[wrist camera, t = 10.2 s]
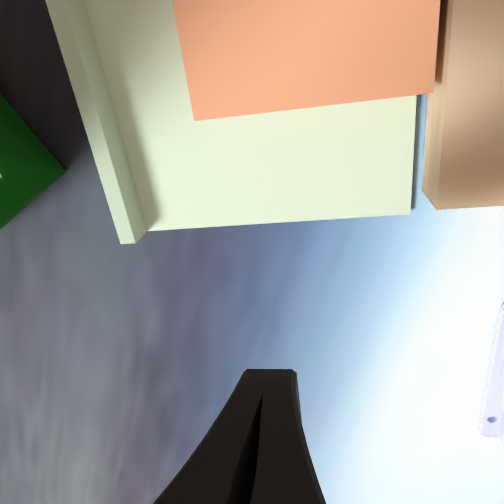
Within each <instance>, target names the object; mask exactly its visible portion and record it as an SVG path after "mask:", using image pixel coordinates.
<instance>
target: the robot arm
mask: <svg viewBox="0 0 504 504" xmlns="http://www.w3.org/2000/svg"><path fill="white" fill-rule="evenodd" d="M479 430H480V432H481V434H482V435H484V436H487V437H500V439H501V441H502V443H503V445H504V304H502V305H501V307H500V309H499V314H498V320H497V326H496V331H495V337H494V342H493V348H492V353H491V359H490V365H489V370H488V376H487V381H486V387H485V393H484V398H483V404H482V409H481V415H480V420H479ZM153 504H326V502H325V499H324V496H323V494H322V491H321V488H320V485H319V482H318V479H317V476H316V473H315V470H314V467H313V464H312V460H311V457H310V454H309V450H308V447H307V443H306V439H305V435H304V431H303V427H302V420H301V411H300V402H299V392H298V383H297V373H296V372H295V371H293V370H292V369H247V370H246V371H244V373H243V375H242V376H241V378H240V380H239V382H238V384H237V386H236V387H235V389H234V391H233V393H232V394H231V396H230V398H229V400H228V401H227V403H226V404H225V406H224V408H223V409H222V411H221V413H220V414H219V416H218V417H217V419H216V420H215V422H214V423H213V425H212V426H211V428H210V430H209V431H208V433H207V434H206V436H205V437H204V438H203V440H202V441H201V443H200V444H199V445H198V447H197V448H196V450H195V451H194V452H193V454H192V455H191V456H190V458H189V459H188V461H187V462H186V463H185V465H184V466H183V467H182V469H181V470H180V471H179V473H178V474H177V475H176V476H175V478H174V479H173V480H172V481H171V483H170V484H169V485H168V486H167V488H166V489H165V490H164V491H163V492H162V493H161V495H160V496H159V497H158V498H157V499H156V501H155V502H154V503H153Z"/></svg>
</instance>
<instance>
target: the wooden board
mask: <svg viewBox="0 0 504 504" xmlns="http://www.w3.org/2000/svg"><path fill="white" fill-rule="evenodd" d="M422 192H423V193H424V194H425V195H426V197H427V198H428V199H429V201H430V202H431V203H432V205H433V206H434V207H435V209H436V210H442V209H457V208H473V207H488V206H503V205H504V0H440V13H439V27H438V41H437V54H436V68H435V82H434V93H430V94H428V99H427V115H426V131H425V147H424V163H423V178H422Z"/></svg>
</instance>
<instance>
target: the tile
mask: <svg viewBox="0 0 504 504" xmlns="http://www.w3.org/2000/svg"><path fill="white" fill-rule="evenodd" d="M172 4H173V9H174V14H175V20H176V25H177V31H178V36H179V41H180V47H181V52H182V58H183V63H184V68H185V74H186V79H187V85H188V90H189V95H190V101H191V106H192V112H193V117H194V121H200V120H208V119H217V118H225V117H234V116H242V115H251V114H259V113H268V112H276V111H285V110H294V109H302V108H311V107H319V106H328V105H336V104H345V103H353V102H362V101H370V100H379V99H387V98H396V97H404V96H413V95H421V94H430V93H434V82H435V68H436V54H437V41H438V27H439V13H440V0H172Z"/></svg>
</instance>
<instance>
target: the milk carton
mask: <svg viewBox="0 0 504 504" xmlns="http://www.w3.org/2000/svg"><path fill="white" fill-rule="evenodd" d="M65 171H66V170H65V169H64V168H63V167H62V165H61V164H60V163H59V162H58V161H57V159H56V158H55V157H54V156H53V155H52V154H51V152H50V151H49V150H48V149H47V148H46V146H45V145H44V144H43V143H42V142H41V141H40V139H39V138H38V137H37V136H36V135H35V133H34V132H33V131H32V130H31V129H30V128H29V126H28V125H27V124H26V123H25V122H24V120H23V119H22V118H21V117H20V116H19V115H18V113H17V112H16V111H15V110H14V109H13V107H12V106H11V105H10V104H9V103H8V102H7V100H6V99H5V98H4V97H3V96H2V95H1V93H0V229H1V228H2V227H3V226H5V225H6V224H7V223H8V222H9V221H10V220H11V219H12V218H13V217H15V216H16V215H17V214H18V213H19V212H20V211H21V210H22V209H23V208H25V207H26V206H27V205H28V204H29V203H30V202H31V201H33V200H34V199H35V198H36V197H37V196H38V195H39V194H40V193H42V192H43V191H44V190H45V189H46V188H47V187H48V186H49V185H51V184H52V183H53V182H54V181H55V180H56V179H57V178H59V177H60V176H61V175H62V174H63V173H64V172H65Z"/></svg>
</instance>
